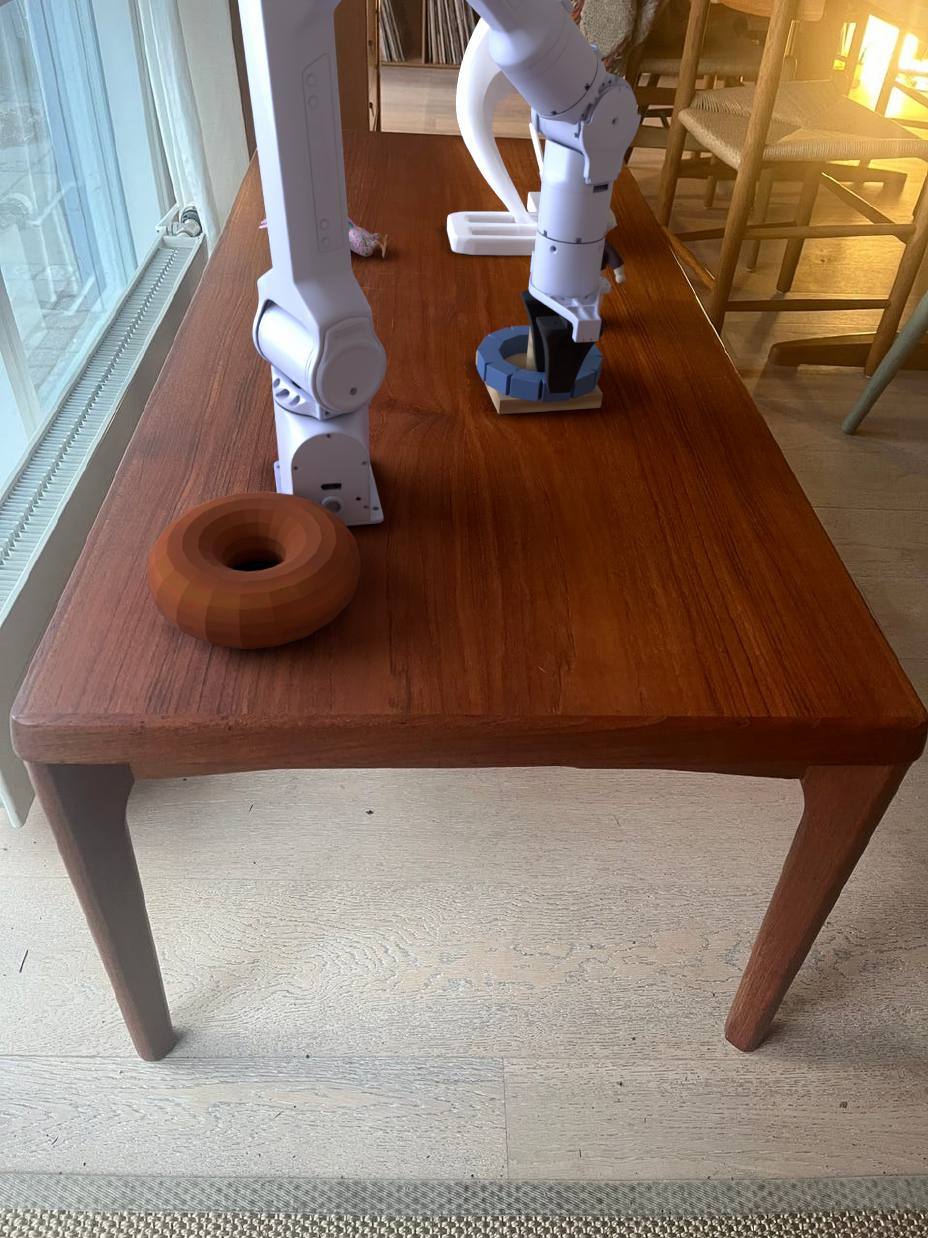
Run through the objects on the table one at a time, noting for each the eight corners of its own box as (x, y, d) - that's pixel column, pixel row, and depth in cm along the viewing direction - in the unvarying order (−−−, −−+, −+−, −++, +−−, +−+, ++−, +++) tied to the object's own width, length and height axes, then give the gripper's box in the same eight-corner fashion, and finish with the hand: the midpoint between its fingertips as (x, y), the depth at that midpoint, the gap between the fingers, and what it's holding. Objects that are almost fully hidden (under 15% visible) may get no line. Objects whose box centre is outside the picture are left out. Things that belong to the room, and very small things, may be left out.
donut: (390, 555, 74) (390, 500, 71) (313, 687, 64) (309, 631, 60) (213, 514, 77) (205, 460, 74) (111, 635, 66) (95, 578, 63)
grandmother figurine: (545, 319, 106) (559, 199, 98) (559, 307, 109) (574, 189, 100) (611, 337, 104) (631, 216, 95) (624, 324, 106) (644, 204, 98)
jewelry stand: (581, 262, 118) (612, 26, 102) (454, 262, 117) (464, 22, 100) (547, 191, 137) (568, -18, 120) (436, 190, 135) (442, -23, 118)
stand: (600, 407, 92) (613, 328, 87) (498, 414, 91) (505, 333, 85) (570, 358, 100) (580, 282, 94) (475, 363, 98) (480, 286, 93)
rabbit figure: (384, 254, 121) (262, 229, 119) (392, 206, 117) (266, 179, 115) (382, 274, 116) (255, 249, 114) (390, 225, 112) (258, 197, 110)
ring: (615, 397, 91) (618, 377, 90) (494, 406, 89) (496, 386, 87) (577, 340, 99) (579, 321, 98) (466, 347, 97) (467, 328, 96)
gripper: (646, 264, 76) (619, 417, 85) (591, 199, 86) (571, 342, 96) (560, 267, 75) (541, 422, 84) (514, 200, 85) (502, 345, 94)
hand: (552, 380), depth 90 cm, fingers open, 3 cm apart
